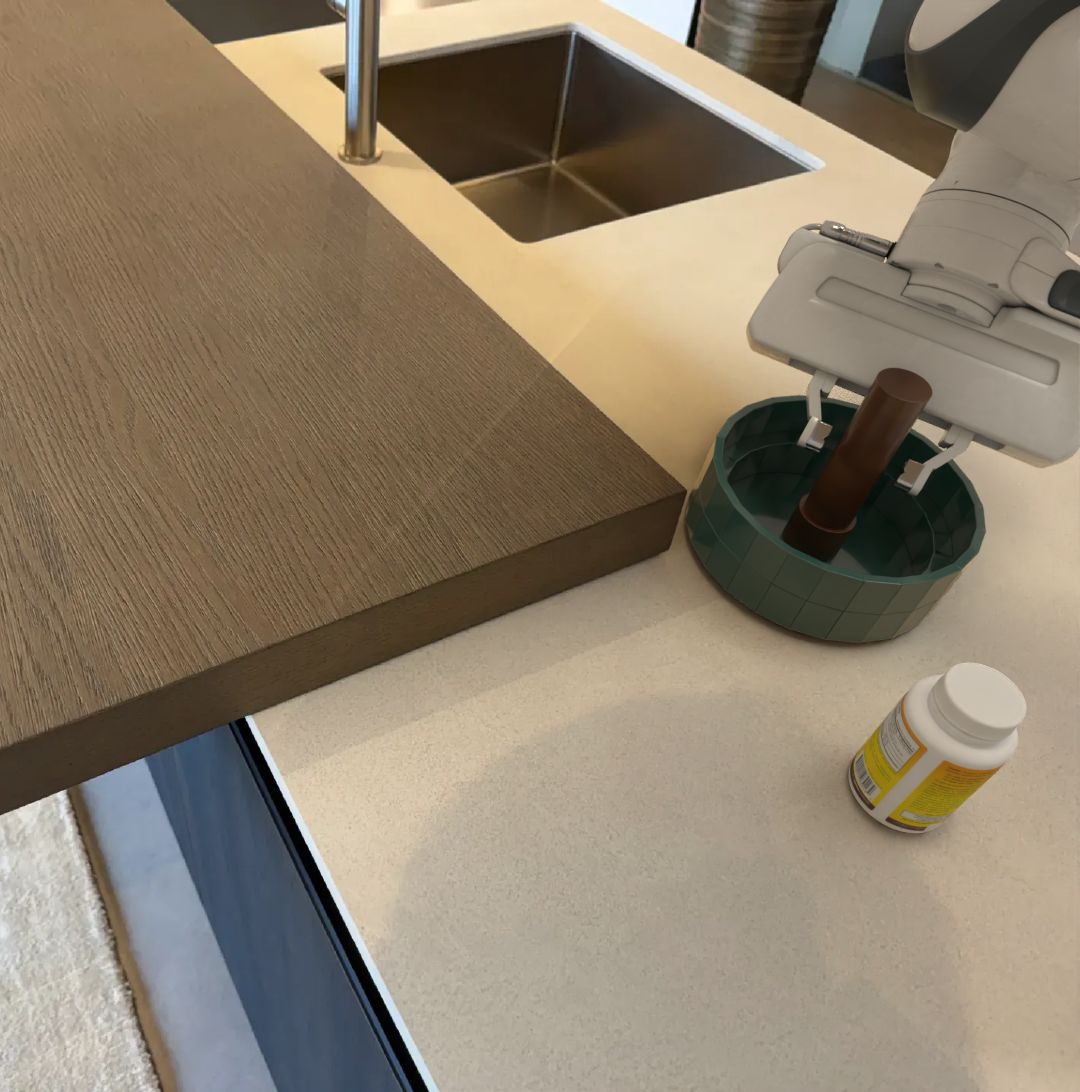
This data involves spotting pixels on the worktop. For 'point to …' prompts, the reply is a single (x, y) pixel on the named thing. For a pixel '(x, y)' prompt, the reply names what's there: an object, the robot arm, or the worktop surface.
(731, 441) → the bowl
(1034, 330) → the robot arm
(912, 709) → the supplement bottle
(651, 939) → the worktop surface
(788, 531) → the brown flanged cylinder
